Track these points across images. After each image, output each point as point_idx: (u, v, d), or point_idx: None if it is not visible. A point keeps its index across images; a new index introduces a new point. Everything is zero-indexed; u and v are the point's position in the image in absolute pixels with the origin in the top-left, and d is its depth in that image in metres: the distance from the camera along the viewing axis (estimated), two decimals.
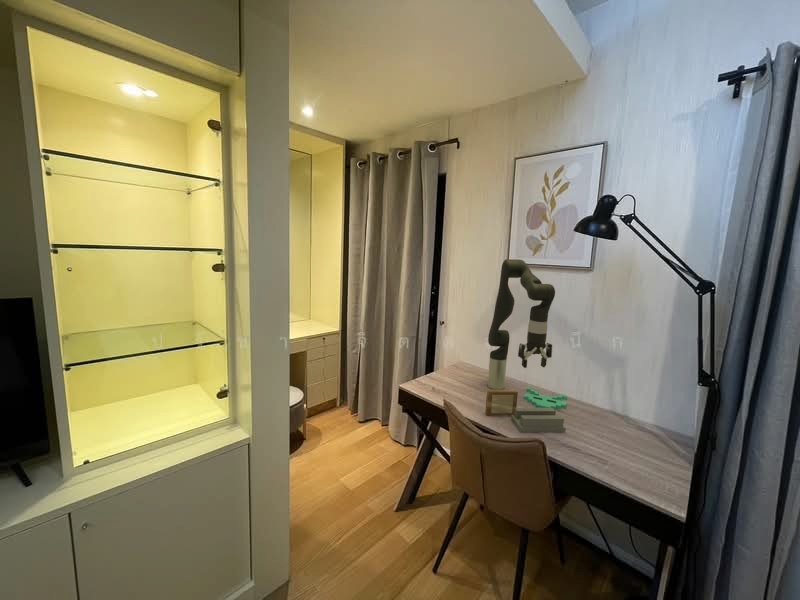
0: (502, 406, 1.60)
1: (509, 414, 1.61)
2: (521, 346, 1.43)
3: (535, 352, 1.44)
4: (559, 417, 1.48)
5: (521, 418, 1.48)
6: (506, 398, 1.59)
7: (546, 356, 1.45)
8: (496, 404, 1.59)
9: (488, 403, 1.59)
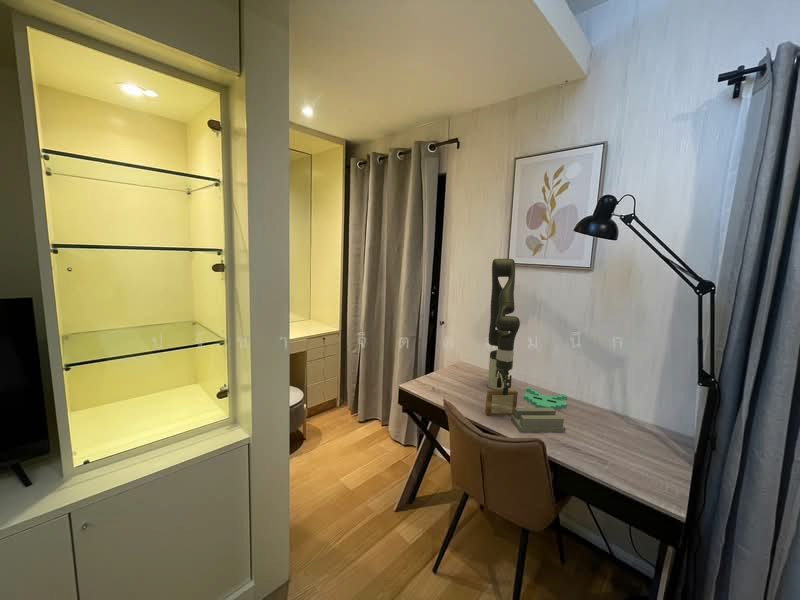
0: (502, 406, 1.60)
1: (509, 414, 1.61)
2: (509, 377, 1.52)
3: None
4: (559, 417, 1.48)
5: (521, 418, 1.48)
6: (506, 398, 1.59)
7: None
8: (496, 404, 1.59)
9: (488, 403, 1.59)
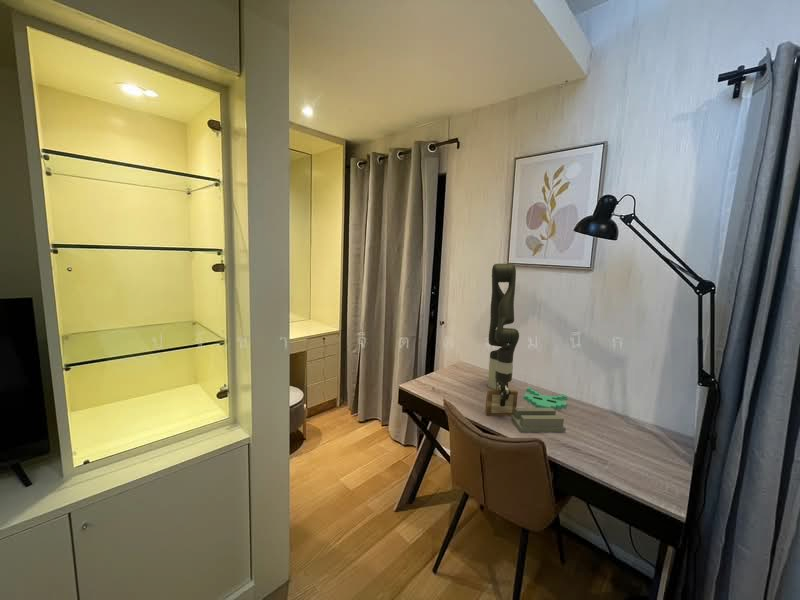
0: None
1: (509, 414, 1.61)
2: (508, 392, 1.53)
3: None
4: (559, 417, 1.48)
5: (521, 418, 1.48)
6: None
7: None
8: (496, 404, 1.59)
9: (488, 403, 1.59)
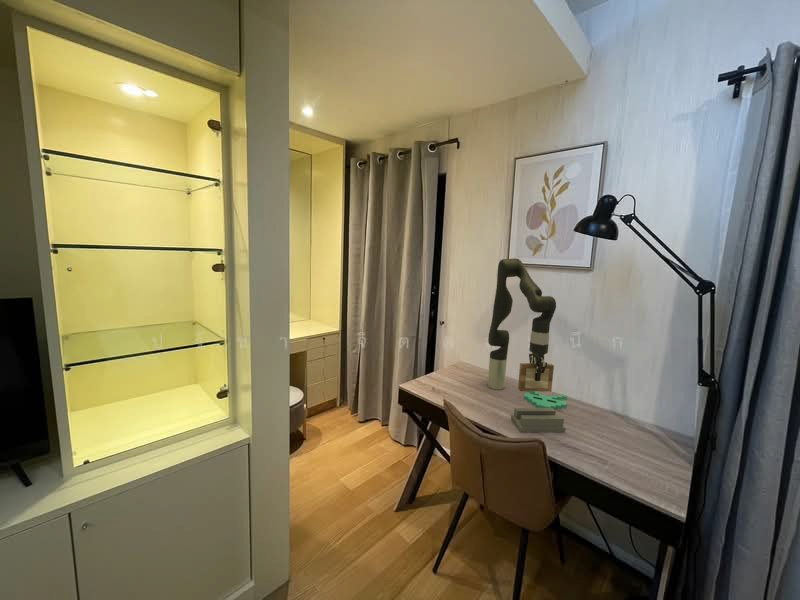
0: None
1: (544, 389, 1.50)
2: (545, 365, 1.42)
3: None
4: (559, 417, 1.48)
5: (521, 418, 1.48)
6: None
7: None
8: (530, 378, 1.48)
9: (522, 377, 1.49)
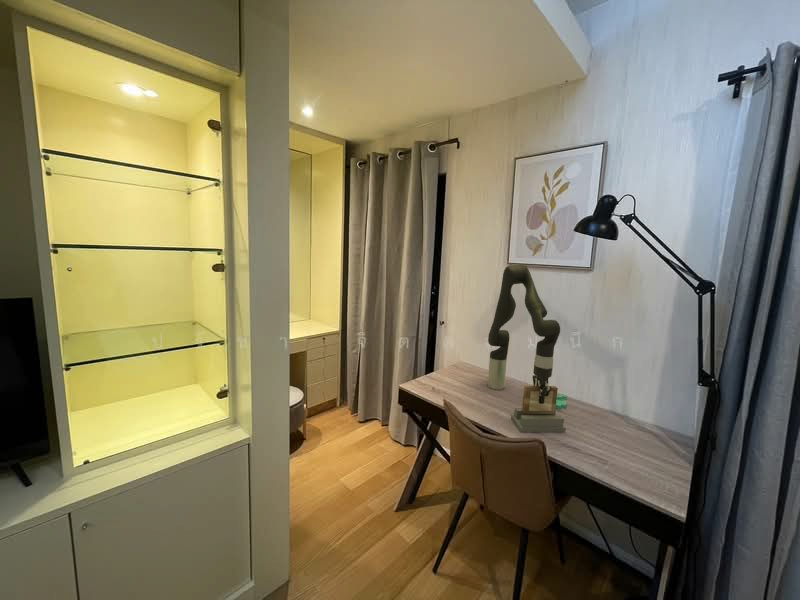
0: None
1: (548, 412, 1.51)
2: (549, 389, 1.43)
3: None
4: (559, 417, 1.48)
5: (521, 418, 1.48)
6: None
7: None
8: (534, 401, 1.49)
9: (526, 400, 1.49)
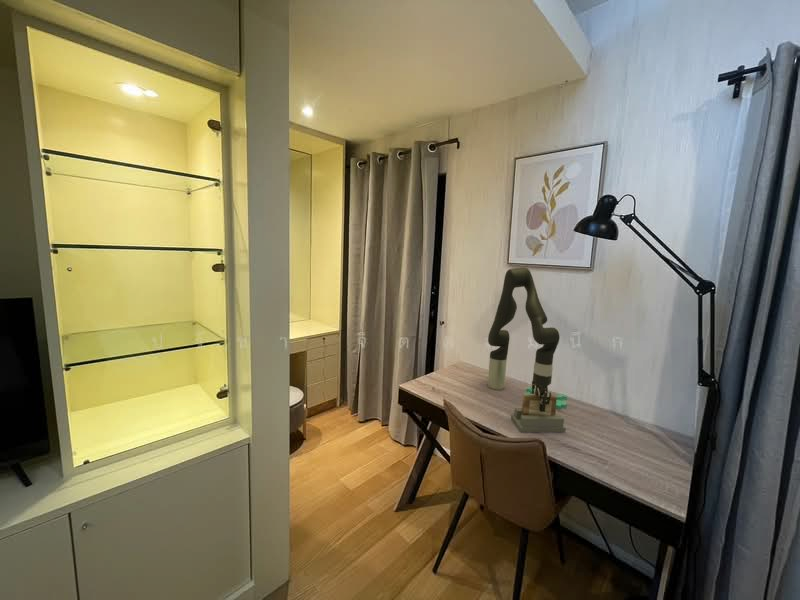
0: (540, 412, 1.50)
1: None
2: (549, 395, 1.43)
3: None
4: (559, 417, 1.48)
5: (521, 418, 1.48)
6: None
7: (538, 394, 1.54)
8: (533, 410, 1.50)
9: (525, 409, 1.50)
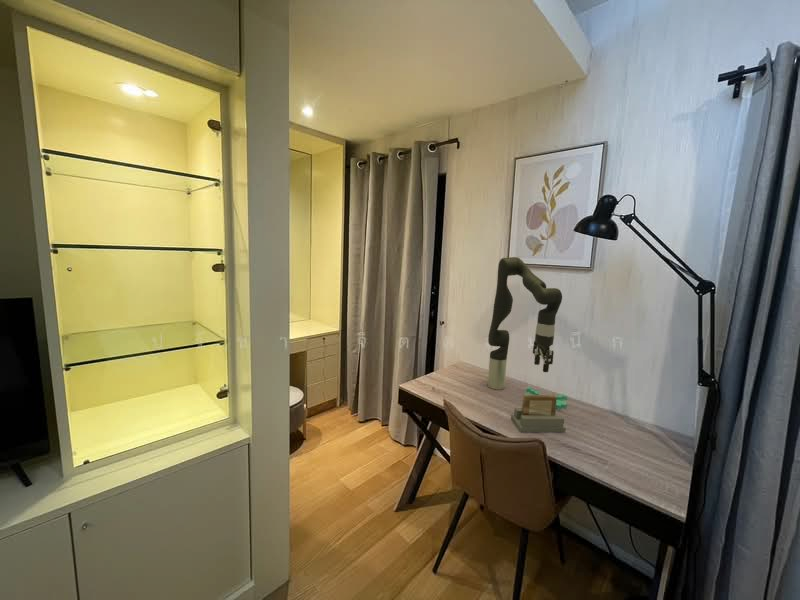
0: (540, 412, 1.50)
1: None
2: (551, 353, 1.43)
3: None
4: (559, 417, 1.48)
5: (521, 418, 1.48)
6: (544, 404, 1.50)
7: (539, 353, 1.55)
8: (533, 410, 1.50)
9: (525, 409, 1.50)
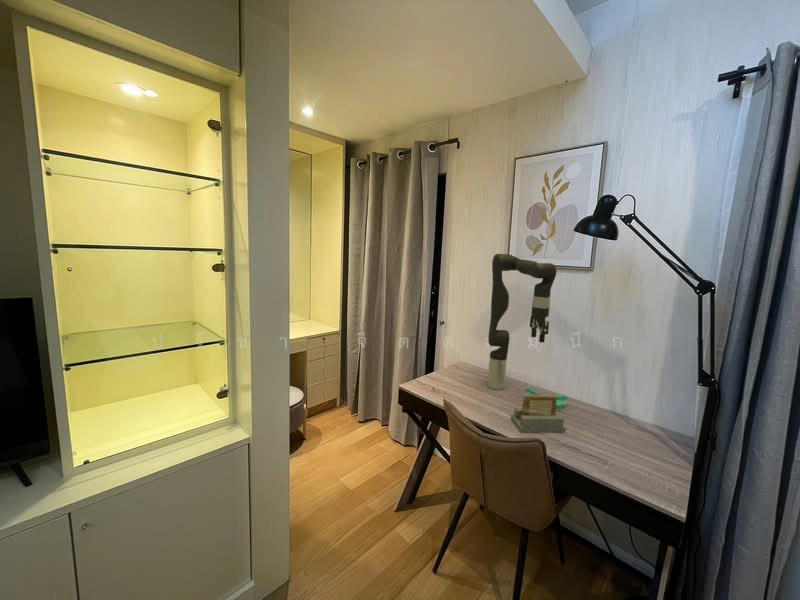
0: (540, 412, 1.50)
1: None
2: (547, 323, 1.52)
3: None
4: (559, 417, 1.48)
5: (521, 418, 1.48)
6: (544, 404, 1.50)
7: (536, 326, 1.65)
8: (533, 410, 1.50)
9: (525, 409, 1.50)
